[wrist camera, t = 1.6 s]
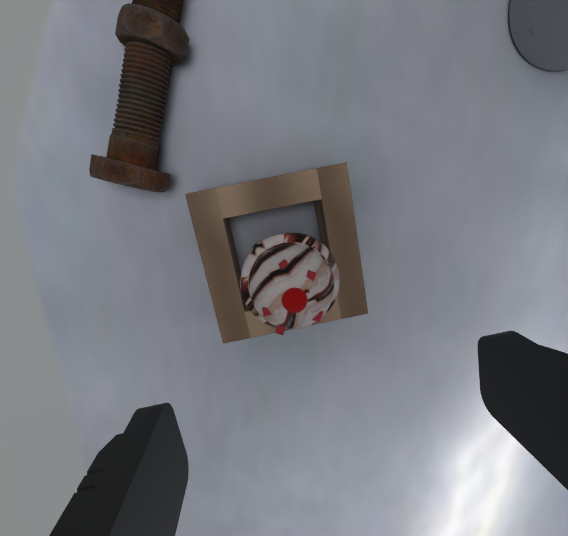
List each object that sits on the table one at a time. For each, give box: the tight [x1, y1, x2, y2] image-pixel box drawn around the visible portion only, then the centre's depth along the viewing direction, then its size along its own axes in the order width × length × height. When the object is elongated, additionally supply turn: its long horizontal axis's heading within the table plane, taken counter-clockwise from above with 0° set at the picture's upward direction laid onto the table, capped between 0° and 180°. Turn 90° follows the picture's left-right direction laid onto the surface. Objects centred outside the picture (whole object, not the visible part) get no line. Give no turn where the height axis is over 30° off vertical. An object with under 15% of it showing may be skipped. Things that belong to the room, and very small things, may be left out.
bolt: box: [89, 0, 189, 192], centre depth 25 cm, size 6×5×15 cm
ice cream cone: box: [240, 233, 340, 335], centre depth 24 cm, size 6×6×15 cm
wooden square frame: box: [185, 162, 368, 343], centre depth 29 cm, size 12×12×4 cm
